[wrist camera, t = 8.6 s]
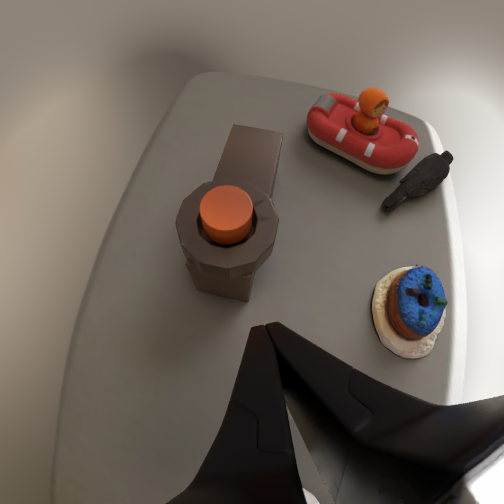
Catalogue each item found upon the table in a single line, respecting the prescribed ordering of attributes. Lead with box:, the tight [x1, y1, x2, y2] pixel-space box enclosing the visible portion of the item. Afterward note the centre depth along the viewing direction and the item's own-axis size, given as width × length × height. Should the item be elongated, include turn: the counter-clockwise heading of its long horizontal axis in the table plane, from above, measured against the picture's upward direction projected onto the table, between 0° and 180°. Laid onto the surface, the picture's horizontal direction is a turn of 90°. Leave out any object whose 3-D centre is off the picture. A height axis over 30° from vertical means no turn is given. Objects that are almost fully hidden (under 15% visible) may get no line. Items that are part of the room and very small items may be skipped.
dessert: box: [372, 265, 447, 359], centre depth 22 cm, size 8×7×6 cm
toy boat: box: [307, 88, 419, 175], centre depth 26 cm, size 8×12×8 cm, turn 60°
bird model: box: [382, 151, 453, 211], centre depth 27 cm, size 3×14×3 cm, turn 128°
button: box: [199, 185, 253, 245], centre depth 17 cm, size 3×3×2 cm
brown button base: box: [176, 125, 283, 302], centre depth 22 cm, size 12×6×8 cm, turn 168°
